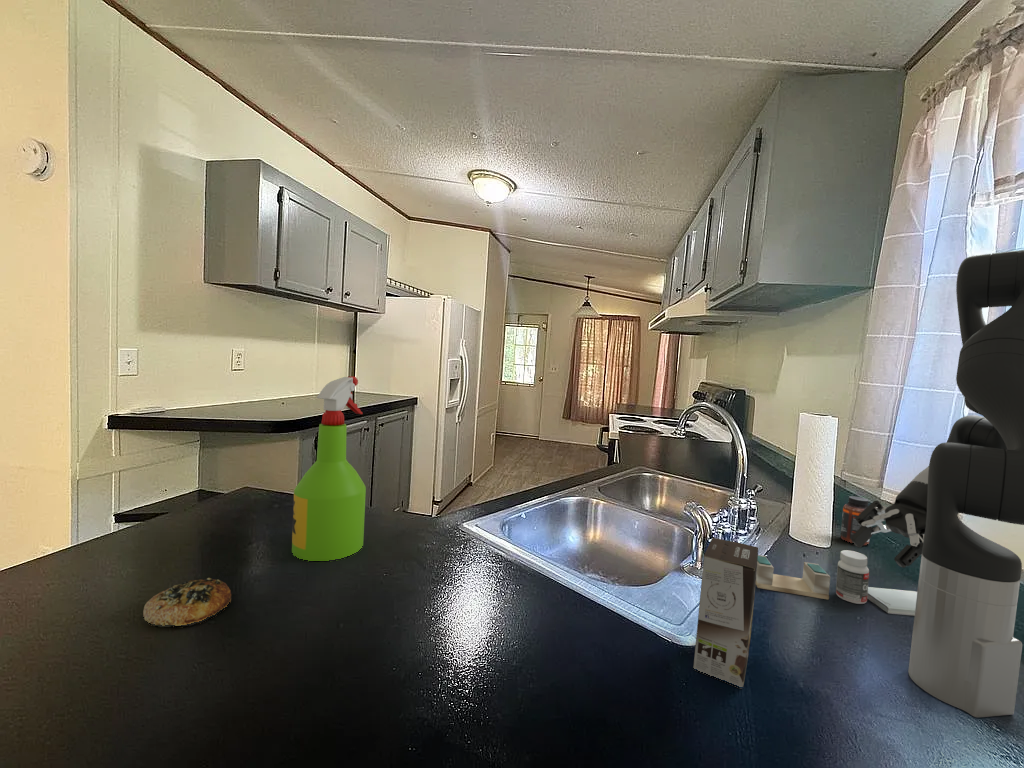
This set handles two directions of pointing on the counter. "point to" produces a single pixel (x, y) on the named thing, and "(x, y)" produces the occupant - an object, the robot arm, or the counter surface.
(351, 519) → the spray bottle
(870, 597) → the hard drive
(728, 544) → the coffee box
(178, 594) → the bread roll
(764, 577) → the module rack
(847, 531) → the supplement bottle
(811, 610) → the counter surface
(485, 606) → the counter surface
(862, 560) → the pill bottle
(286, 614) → the counter surface
